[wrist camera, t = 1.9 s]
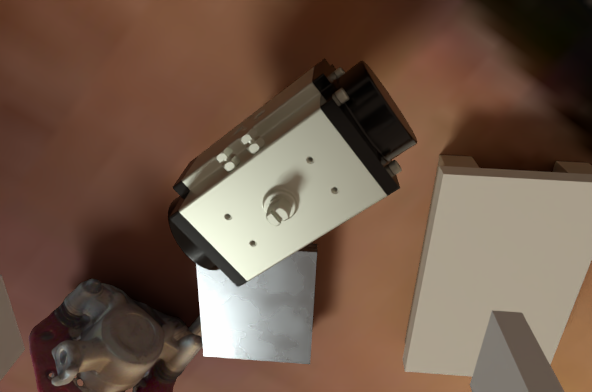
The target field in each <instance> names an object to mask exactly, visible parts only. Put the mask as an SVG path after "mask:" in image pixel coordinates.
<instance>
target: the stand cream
mask: <svg viewBox="0 0 592 392" xmlns="http://www.w3.org/2000/svg"><path fill="white" fill-rule="evenodd" d="M591 260H592V165H590V164H589V163H582V162H564V161H556V162H555V165H554V168H553V171H552V172H542V171H524V170H506V169H489V168H479V166H478V165H477V163H476V162H475V160H474V159H473V158H472V156H454V155H440V156H439V162H438V167H437V172H436V178H435V183H434V188H433V194H432V199H431V204H430V210H429V215H428V220H427V226H426V231H425V236H424V242H423V247H422V252H421V258H420V263H419V268H418V274H417V279H416V284H415V290H414V295H413V300H412V306H411V311H410V316H409V322H408V327H407V332H406V338H405V349H404V355H403V364H404V369H405V371H407V372H420V373H433V374H446V375H459V376H473V373H474V370H475V366H476V363H477V360H478V356H479V353H480V349H481V346H482V343H483V339H484V336H485V332H486V329H487V326H488V322H489V319H490V316H491V312H492V310H494V311H507V312H521V313H523V315H524V317H525V319H526V321H527V323H528V325H529V326H530V328H531V330H532V332H533V334H534V336H535V338H536V340H537V341H538V343H539V345H540V347H541V349H542V351H543V353H544V355H545V356H546V358H547V360H548V362H549V364H551V362H552V359H553V357H554V354H555V351H556V349H557V346H558V344H559V341H560V339H561V336H562V334H563V331H564V329H565V326H566V324H567V321H568V318H569V316H570V313H571V311H572V308H573V306H574V303H575V301H576V298H577V296H578V293H579V291H580V288H581V285H582V283H583V280H584V278H585V275H586V273H587V270H588V268H589V265H590V263H591Z"/></svg>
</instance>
